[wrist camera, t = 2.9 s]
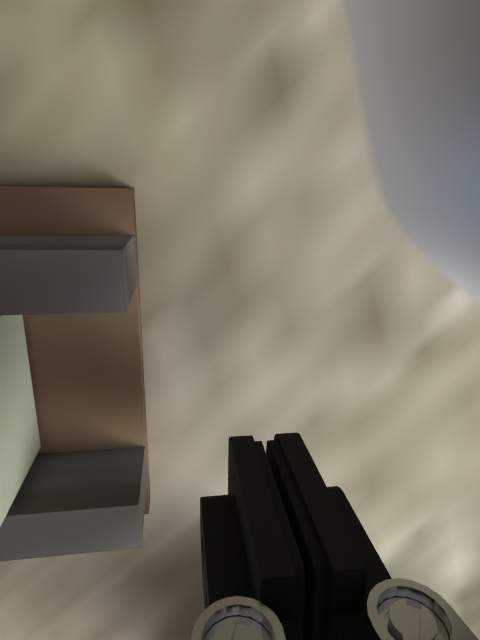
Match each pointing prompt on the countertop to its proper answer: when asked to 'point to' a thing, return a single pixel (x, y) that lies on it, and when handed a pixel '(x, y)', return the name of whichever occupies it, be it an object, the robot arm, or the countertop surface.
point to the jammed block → (15, 411)
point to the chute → (77, 368)
